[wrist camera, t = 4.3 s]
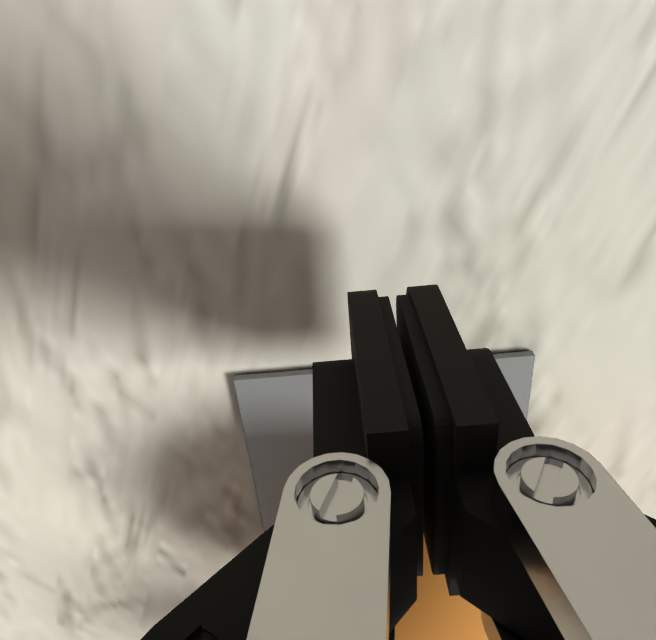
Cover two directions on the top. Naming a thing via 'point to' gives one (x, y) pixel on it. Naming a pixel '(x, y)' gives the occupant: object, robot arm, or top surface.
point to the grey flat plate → (297, 422)
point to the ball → (439, 612)
